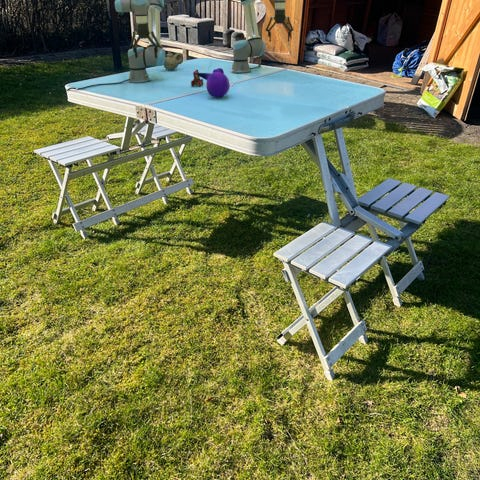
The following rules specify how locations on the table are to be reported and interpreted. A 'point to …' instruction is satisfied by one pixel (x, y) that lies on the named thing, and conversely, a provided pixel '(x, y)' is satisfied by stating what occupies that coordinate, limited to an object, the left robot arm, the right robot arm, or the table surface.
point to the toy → (216, 82)
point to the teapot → (172, 61)
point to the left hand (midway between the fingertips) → (146, 57)
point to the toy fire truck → (196, 79)
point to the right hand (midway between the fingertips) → (279, 41)
